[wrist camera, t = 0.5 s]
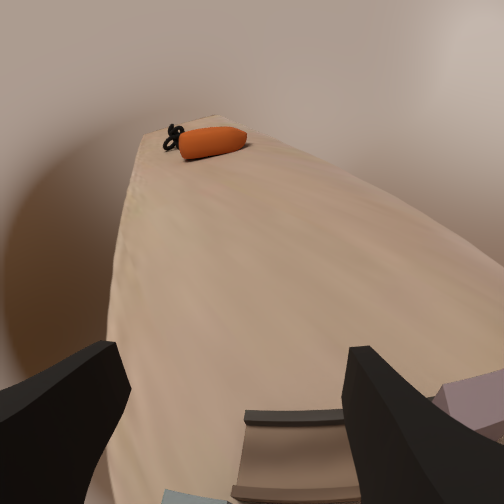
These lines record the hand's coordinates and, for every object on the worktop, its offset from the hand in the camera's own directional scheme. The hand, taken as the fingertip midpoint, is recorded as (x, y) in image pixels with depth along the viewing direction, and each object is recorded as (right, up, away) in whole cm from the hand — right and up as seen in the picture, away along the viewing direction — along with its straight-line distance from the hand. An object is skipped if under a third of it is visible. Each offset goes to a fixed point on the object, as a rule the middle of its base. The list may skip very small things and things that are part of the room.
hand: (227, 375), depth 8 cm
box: (+17, -12, +8) cm, 23 cm away
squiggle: (-33, +50, +120) cm, 134 cm away
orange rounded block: (-12, +39, +97) cm, 105 cm away
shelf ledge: (+11, -13, +10) cm, 20 cm away
